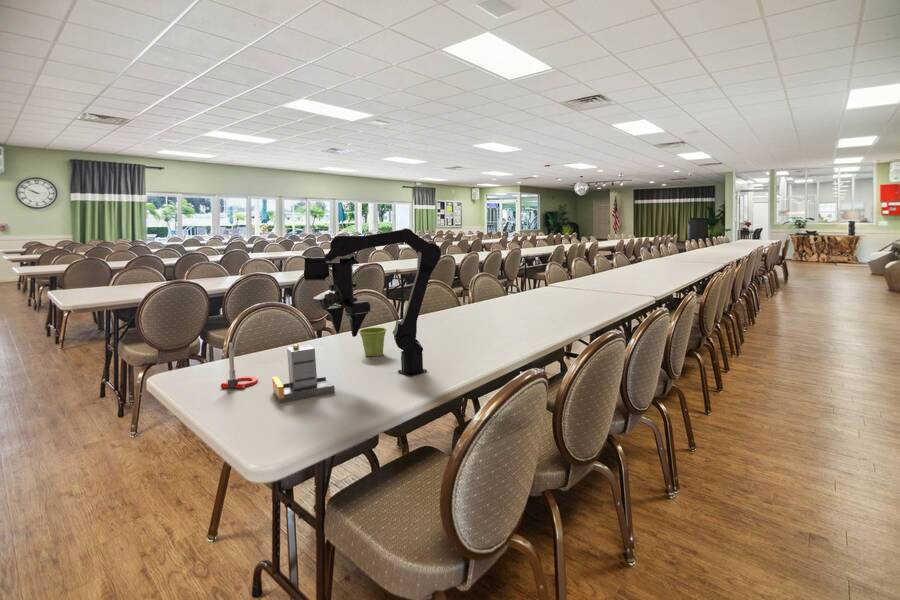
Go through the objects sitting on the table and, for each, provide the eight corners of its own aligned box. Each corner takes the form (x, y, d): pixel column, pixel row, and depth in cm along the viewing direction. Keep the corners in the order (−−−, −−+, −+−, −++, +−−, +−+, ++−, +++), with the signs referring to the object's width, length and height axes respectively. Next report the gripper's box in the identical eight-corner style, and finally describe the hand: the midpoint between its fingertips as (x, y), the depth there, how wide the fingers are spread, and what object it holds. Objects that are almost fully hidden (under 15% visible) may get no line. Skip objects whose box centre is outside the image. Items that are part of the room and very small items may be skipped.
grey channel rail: (325, 382, 133) (324, 368, 132) (334, 392, 125) (333, 377, 124) (273, 392, 126) (272, 377, 125) (279, 403, 118) (278, 387, 117)
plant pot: (355, 354, 162) (353, 330, 161) (377, 349, 169) (376, 325, 167) (369, 359, 156) (368, 334, 154) (393, 354, 162) (392, 329, 160)
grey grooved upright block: (312, 383, 129) (309, 340, 127) (317, 389, 124) (314, 344, 122) (289, 387, 126) (286, 343, 124) (294, 393, 121) (290, 348, 119)
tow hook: (237, 379, 139) (217, 389, 130) (235, 337, 138) (214, 343, 128) (263, 380, 138) (245, 390, 129) (261, 337, 136) (242, 343, 127)
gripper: (300, 280, 134) (304, 333, 136) (334, 285, 121) (337, 344, 123) (335, 277, 141) (338, 327, 144) (370, 281, 128) (373, 337, 130)
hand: (345, 334), depth 135 cm, fingers open, 9 cm apart
